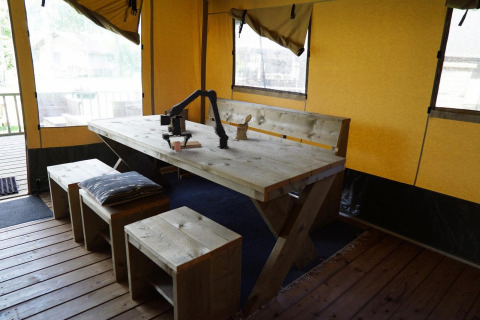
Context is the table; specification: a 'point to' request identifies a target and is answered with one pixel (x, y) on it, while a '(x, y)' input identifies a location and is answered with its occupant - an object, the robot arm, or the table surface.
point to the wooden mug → (243, 129)
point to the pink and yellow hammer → (177, 145)
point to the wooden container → (183, 124)
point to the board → (188, 144)
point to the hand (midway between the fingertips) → (177, 148)
